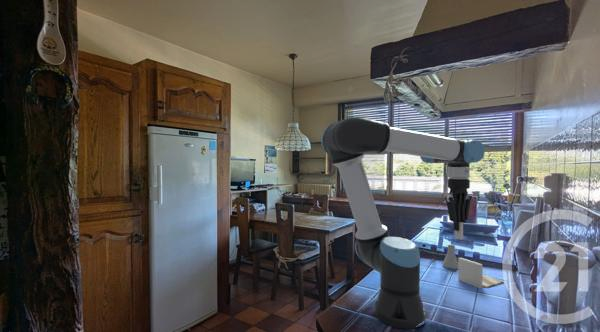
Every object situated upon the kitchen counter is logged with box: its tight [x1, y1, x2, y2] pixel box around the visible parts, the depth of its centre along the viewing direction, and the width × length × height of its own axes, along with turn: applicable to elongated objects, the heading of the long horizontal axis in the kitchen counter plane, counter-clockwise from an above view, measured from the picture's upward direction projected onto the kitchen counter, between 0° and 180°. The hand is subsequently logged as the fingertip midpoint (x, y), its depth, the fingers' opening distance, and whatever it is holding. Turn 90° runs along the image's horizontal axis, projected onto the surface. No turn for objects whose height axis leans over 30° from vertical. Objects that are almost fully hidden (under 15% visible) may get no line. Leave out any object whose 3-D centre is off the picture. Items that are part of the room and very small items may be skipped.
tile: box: [457, 257, 484, 289], centre depth 115 cm, size 2×9×9 cm, turn 25°
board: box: [482, 274, 504, 289], centre depth 118 cm, size 11×11×1 cm
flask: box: [442, 244, 458, 270], centre depth 134 cm, size 7×7×10 cm
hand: (458, 238), depth 112 cm, fingers closed
